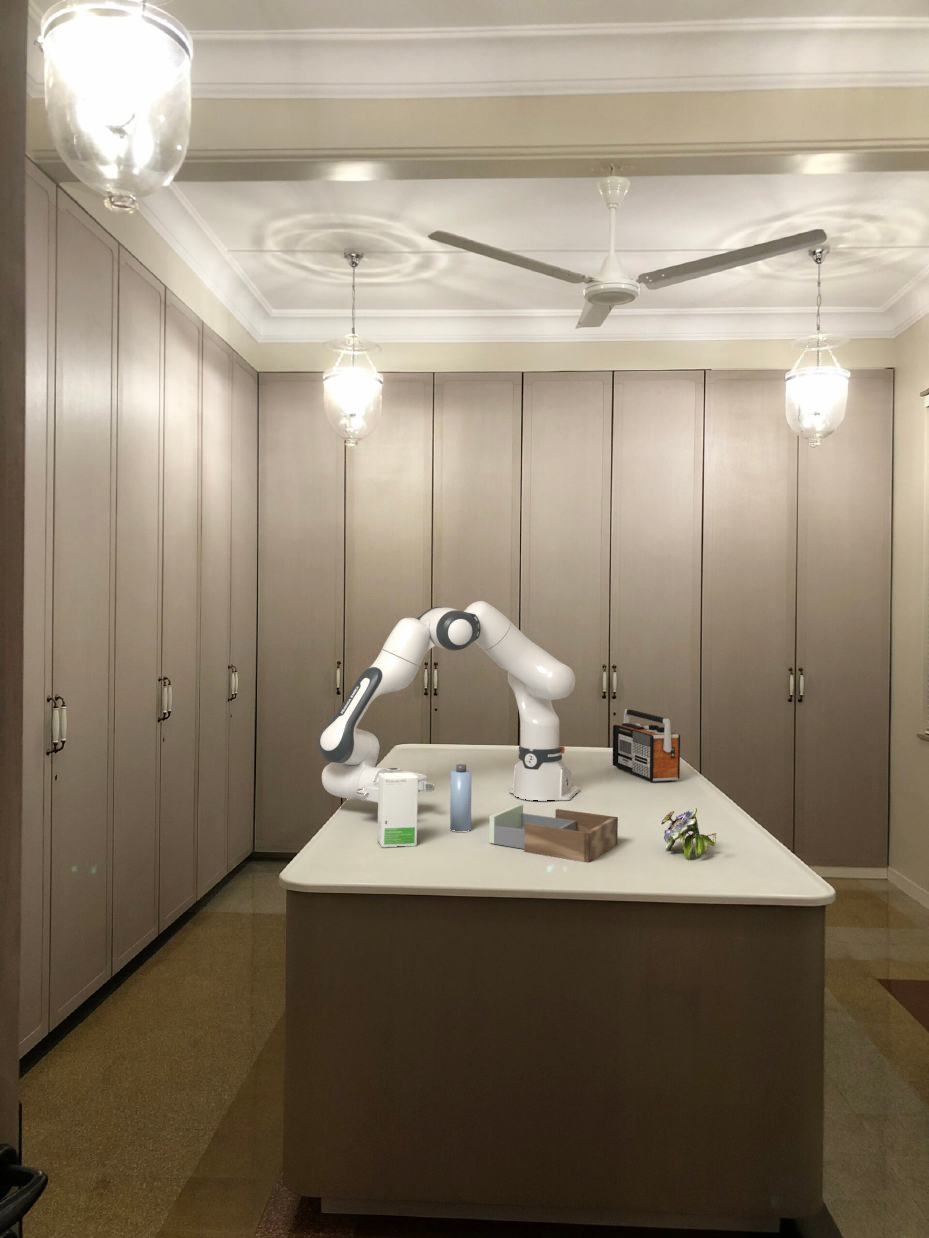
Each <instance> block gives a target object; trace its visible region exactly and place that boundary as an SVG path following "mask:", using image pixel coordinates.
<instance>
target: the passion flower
mask: <svg viewBox="0 0 929 1238" xmlns="http://www.w3.org/2000/svg"><path fill="white" fill-rule="evenodd" d="M697 812H698V808H697V807H694V808H693V809H692V811H690V810H688V811H686V812H685V811H684V812H683V813H681V814H678V816H675V819H674V820H673V818H672V816H673V815H674V813H675V811H674V810H673V811H670V812H669V813H667V814H666V815H665V817H664V818H663V820H662V821H661V825H664V824H665V823H666V822H668V821H670V823H669V826H668V827H667V828H666V830H664V831H663V833H664V836H663V840H664V842H665V843H666V846H665V847H664V848H665V849H664V850H665V851H667V852H670V851H671V850H672V848H673V846H674V845H675V843H676V842H677V840H679V841H680V843H681V844H682V845H683V854H684V855H683V856H684V858H686V860H688V861H691V855H692V853H693V849H695V850H694V851H695V857H696V858H698V857H699V856H700V855H701V854H706V852H707V849H708V845H711V846H712V847H714V846H715V844H716V842H717V841H716V839H717V833H716V832H714V833H712V834H711V833H710V834H707V835H706V834H703V833H702V834H700V829H699V823H698V819H697ZM690 832H692V833H690ZM710 836H711V837H713V839H711V838H710ZM694 842H695V845H694Z"/></svg>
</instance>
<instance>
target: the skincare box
mask: <svg viewBox="0 0 929 1238" xmlns="http://www.w3.org/2000/svg"><path fill="white" fill-rule="evenodd" d="M418 798H419V792H418V777H417V776H416V775H415V774H413V773H379V794H378V803H377V804H378V805H377V827H376V828H377V829H376V831H377V832H376V835H377V837H376V838H377V839H376V840H377V843H379V845H380V847H381V848H397V846H405V847H414V846H413V845H417V844H418V840H417V839H418V804H419V803H418V802H419V799H418Z"/></svg>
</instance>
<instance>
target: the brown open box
mask: <svg viewBox="0 0 929 1238" xmlns="http://www.w3.org/2000/svg"><path fill="white" fill-rule="evenodd" d="M554 816H555V817H554V818H560V819H567V820H574V821H576V831H574V830H567V829H561V828H554V827H547V826H541V825H534V824H527V823H526V824H525V834H524V849H523V850H524V851H525V852H524V853H529V854H530V853H531V854H535V853H536V855H541V854H542V855H543V856H547V855H549V857H554V858H559V859H560V858H561V859H565V858H566V860H571V859H573V860H572V861H577V862H578V861H579V862H582V863H583V862H585V863H591V860H592V861H593V860H595V859H596V858H598V857H600V854H601V855H602V854H604V853H606V852H607V851H608V850H610V849H611V848H614V847H615V845H618V841H619V840H618V829H619V823H618V822H619V817H618V816H611V815H606V814H605V815H604V814H599V813H598V814H597V813H589V812H582V811H575V810H568V809H560V808H556V809H555V815H554ZM609 848H610V849H609ZM594 858H595V859H594Z"/></svg>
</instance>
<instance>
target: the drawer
mask: <svg viewBox="0 0 929 1238" xmlns="http://www.w3.org/2000/svg"><path fill="white" fill-rule="evenodd" d="M526 823H527V824H534V825H541V826H547V827H554V828H561V829H567V830H574V831H576V821H574V820H567V819H560V818H555V817H552V816H544V815H538V814H531V813H524V804H523V803H518V804H515V805H512V806H510V807H508V808H505V809H503V810H500V811H498V812H496V813H494V814H492V815H491V814H490V815H489V825H488V826H489V827H488V828H489V831H488V835H489V837H488V839H489V840H488V843H489V844H494V845H497V846H498V845H499V846H505V847H511V848H517V849H522V850H524V834H525V824H526Z"/></svg>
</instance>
